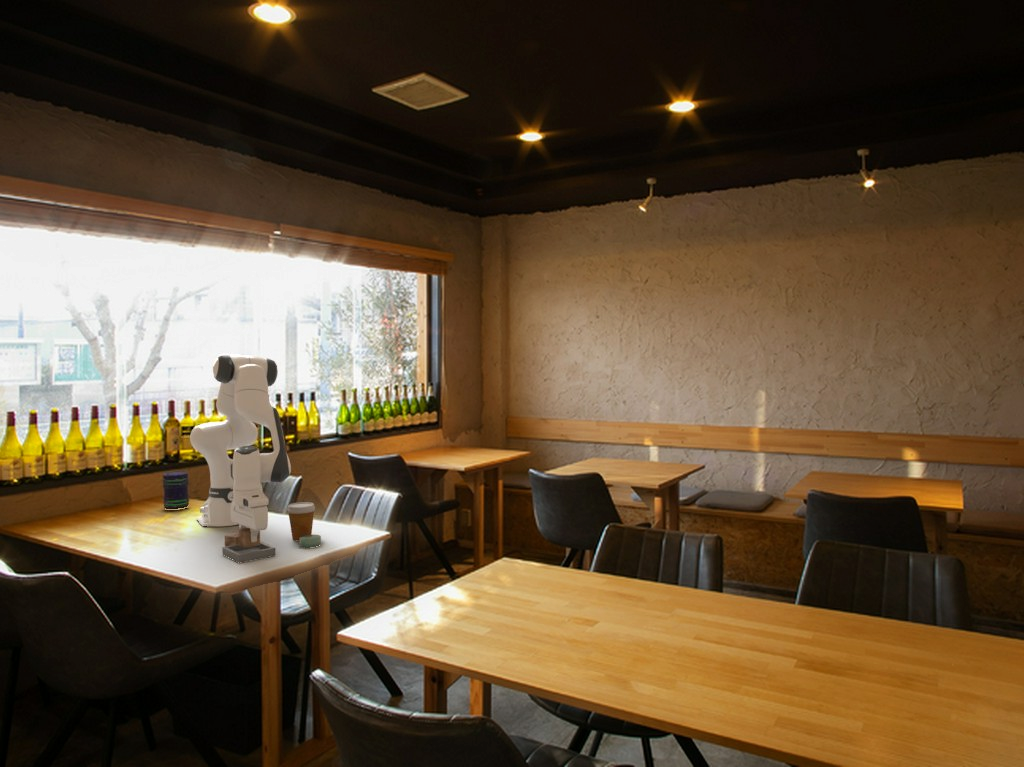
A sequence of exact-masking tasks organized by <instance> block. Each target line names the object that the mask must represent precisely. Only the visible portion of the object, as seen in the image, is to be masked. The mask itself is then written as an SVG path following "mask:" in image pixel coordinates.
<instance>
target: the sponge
mask: <svg viewBox="0 0 1024 767" xmlns="http://www.w3.org/2000/svg"><path fill="white" fill-rule="evenodd" d="M298 542H299V548H301V547H305V548H304V549H311V548H310V547H315V548H317V547H316V546H319V545H321V546H322V535H320V534H312V535H304V536H301V537H300V538H299V541H298ZM319 547H320V546H319Z"/></svg>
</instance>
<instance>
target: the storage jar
mask: <svg viewBox="0 0 1024 767" xmlns="http://www.w3.org/2000/svg"><path fill="white" fill-rule="evenodd" d="M189 484H190V483H189V473H188V471H180V470H176V471H168V472H164V473H162V487H163V497H162V498H163V509H164V508H166V509H178V508H184V507H187V506H188V505H189V504H190V494H189ZM189 506H190V505H189Z"/></svg>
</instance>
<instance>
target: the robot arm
mask: <svg viewBox="0 0 1024 767" xmlns="http://www.w3.org/2000/svg"><path fill="white" fill-rule="evenodd" d="M278 371H279V370H278V365H277V363H276V362H275V361H274V360H273V359H270V358H266V357H265V358H263V357H259V356H255V355H248V354H247V355H245V354H244V355H243V354H230V353H222V354H221V353H220V354H219V355H218V356H217V357H215V361H214V362H213V366H212V373H213V378H214V379H215V381H217V382H220V384H219V385H220V386H219V390H218V395H217V398H216V402H215V403H216V404H215V406H216V409H217V411H218V412H219V413H220V414H221V415H222V416H225V420H223V421H215V422H214V421H213V422H206V423H202V424H199V425H196V426H194V427H193V429H192V430H191V432H190V435H189V441H190V445H191V447H193V449H194V450H195V451H197V452H198V453H200V454H201V455H202V456H203V457H204V459H205V461H206V462H207V465H208V469H209V476H210V487H209V490H208V497H207V500H205V501H204V503H203V505H202V506H201V507H199V513H200V514H202V515H199V516H197V517H196V519H197V520H198V521H199V522H198V521H197V520H196V521H197V522H198V523H199V525H200V526H201V525H202V526H201V527H203V526H207V527H231V526H236V525H238V526H239V528H238V529H244V528H250V530H251V536H250V541H251V542H256V541H257V535H258V532H259V531H260V532H261V531H265V530H267V528H268V525H269V522H268V521H269V514H268V513H269V510H268V509H269V508H268V507H267V506H268V505H269V501H270V500H269V498H268V497H267V496H266V494H265V493H264V491H263V485H262V483H281V484H282V483H283V482H285V480H287V479H288V478H289V477H290V475H291V472H292V469H291V468H292V466H291V461H290V458H289V456H288V453H287V448H286V443H285V442H286V441H285V436H284V431H283V427H282V422H281V418H280V413H279V412H278V409H277V408H275V407H274V406H272V404H271V403H270V400H269V387H271V386H273V385H274V384H275V382H276V381H277V378H278V373H279V372H278ZM256 424H259V425H261V426H263V427H265V428H267V429H268V431H270V435H271V437H270V438H271V440H272V441H271V442H272V447H273V451H272V452H261V453H260V450H259V448H258V447H257V446H253V445H254V444H255V443H256V442H257V439H258V435H259V431H258V427H257V426H256ZM229 450H234V451H233V456H232V458H230V456H229V454H228V451H229Z"/></svg>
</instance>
